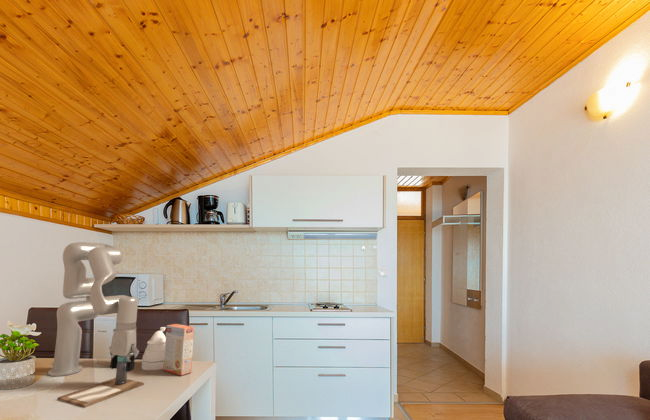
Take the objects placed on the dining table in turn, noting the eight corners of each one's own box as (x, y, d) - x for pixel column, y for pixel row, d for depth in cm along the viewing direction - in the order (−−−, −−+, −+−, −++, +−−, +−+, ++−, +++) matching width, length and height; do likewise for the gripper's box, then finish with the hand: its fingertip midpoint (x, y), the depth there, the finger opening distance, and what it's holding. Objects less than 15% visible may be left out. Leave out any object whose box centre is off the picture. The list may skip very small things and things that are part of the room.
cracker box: (192, 372, 158) (195, 326, 161) (180, 376, 153) (183, 328, 156) (174, 367, 165) (177, 322, 168) (162, 370, 160) (165, 324, 163)
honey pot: (162, 360, 176) (165, 324, 179) (175, 365, 168) (177, 328, 171) (136, 366, 166) (140, 328, 169) (148, 372, 158) (151, 332, 161)
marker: (112, 383, 141) (115, 353, 143) (121, 380, 145) (124, 351, 147) (119, 385, 139) (122, 354, 141) (128, 382, 143) (131, 352, 145)
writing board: (57, 399, 127) (57, 396, 127) (117, 378, 149) (118, 376, 149) (84, 407, 121) (85, 404, 121) (143, 384, 143) (143, 382, 143)
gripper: (103, 326, 145) (99, 369, 143) (132, 330, 138) (128, 375, 136) (120, 323, 152) (116, 364, 149) (148, 326, 145) (144, 369, 143)
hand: (122, 369), depth 143 cm, fingers open, 8 cm apart
